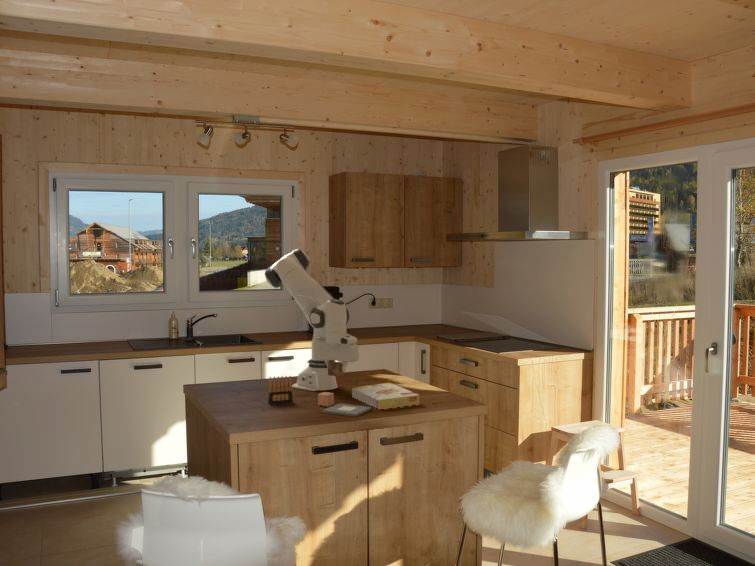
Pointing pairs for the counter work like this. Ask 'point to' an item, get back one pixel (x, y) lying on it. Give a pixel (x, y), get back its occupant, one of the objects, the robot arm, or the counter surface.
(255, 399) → the counter surface
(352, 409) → the board
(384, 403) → the cereal box
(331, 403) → the terracotta cube
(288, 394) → the ammunition clip
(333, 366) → the walnut cube
